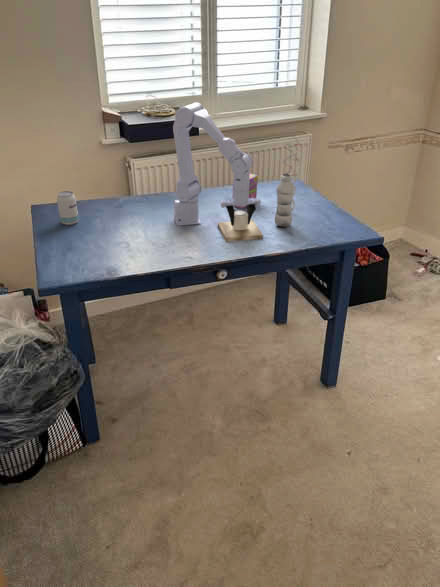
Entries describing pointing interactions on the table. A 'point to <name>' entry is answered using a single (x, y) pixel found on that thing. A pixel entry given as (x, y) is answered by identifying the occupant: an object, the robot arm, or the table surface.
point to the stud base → (240, 232)
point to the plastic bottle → (284, 201)
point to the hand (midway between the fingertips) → (240, 223)
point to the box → (251, 188)
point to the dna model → (290, 166)
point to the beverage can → (67, 208)
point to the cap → (240, 220)
